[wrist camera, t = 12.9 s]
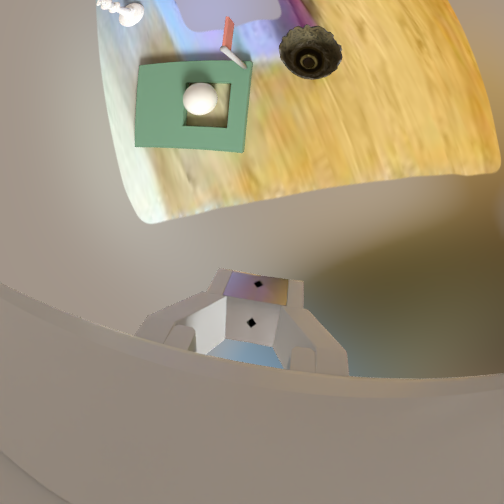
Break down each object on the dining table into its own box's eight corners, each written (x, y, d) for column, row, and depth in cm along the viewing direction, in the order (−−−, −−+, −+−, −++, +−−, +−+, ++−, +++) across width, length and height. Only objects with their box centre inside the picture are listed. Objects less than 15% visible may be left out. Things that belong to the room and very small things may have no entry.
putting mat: (145, 50, 35) (95, 36, 23) (254, 45, 33) (234, 16, 21) (139, 145, 43) (88, 160, 31) (243, 151, 41) (220, 166, 29)
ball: (222, 79, 34) (214, 96, 39) (188, 73, 33) (183, 91, 37) (219, 107, 34) (211, 122, 39) (182, 102, 32) (178, 118, 37)
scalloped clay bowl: (273, 53, 33) (267, 39, 26) (317, 33, 31) (321, 16, 24) (299, 94, 36) (299, 88, 29) (343, 74, 33) (353, 65, 26)
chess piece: (143, 21, 32) (110, 7, 23) (120, 30, 33) (84, 19, 24) (144, 0, 30) (113, -17, 21) (121, 8, 31) (87, -5, 22)
